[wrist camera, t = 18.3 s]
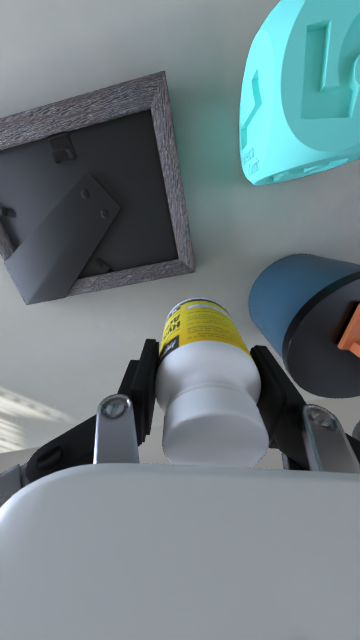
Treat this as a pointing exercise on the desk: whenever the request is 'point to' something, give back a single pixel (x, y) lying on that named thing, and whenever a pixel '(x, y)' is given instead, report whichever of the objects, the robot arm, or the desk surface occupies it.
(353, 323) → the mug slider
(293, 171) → the decorative dice
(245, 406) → the supplement bottle
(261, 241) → the desk surface
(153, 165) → the picture frame
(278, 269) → the travel mug
